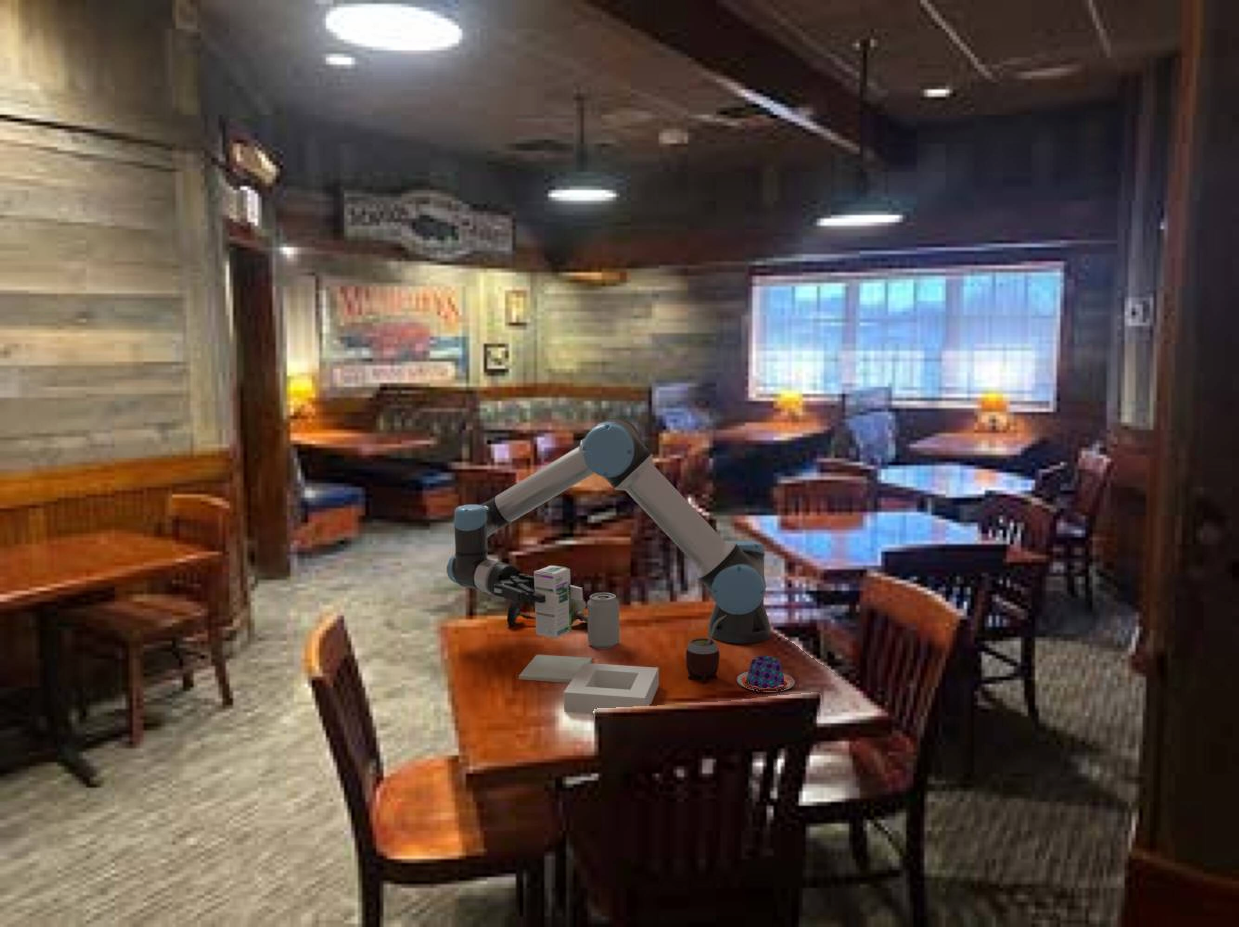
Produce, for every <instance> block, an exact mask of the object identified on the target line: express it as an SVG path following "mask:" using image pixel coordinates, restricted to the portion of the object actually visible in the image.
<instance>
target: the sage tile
mask: <svg viewBox="0 0 1239 927" xmlns="http://www.w3.org/2000/svg"><path fill="white" fill-rule="evenodd" d="M583 663H593V657H583V656H581V657H580V656H567V655H566V656H565V655H552V654H551V655H549V654H536V655H535V656H534V657H533V658H532V660H531V661H529V663H528V664H527V666H526V667H525V668H524V669H523V670H522V671H521V672H520V673H519V675H518V680H524V681H525V680H526V681H539V682H555V683H566V684H568V683H569V684H570V682H571V681H572V679H573V678H574V677H575V675H576V674H577V672H578V671H579V669H580V668H581V666H582V665H583Z"/></svg>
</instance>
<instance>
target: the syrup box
mask: <svg viewBox="0 0 1239 927" xmlns="http://www.w3.org/2000/svg"><path fill="white" fill-rule="evenodd" d="M533 576H534V588H535V590H542V591H545V592H549V593H553V594H556V595H559V608H553V607H550V606H546V605H543V604H539V603H536V602H535V601H534V608H535V609H534V611H535V612H534V614H535V616H534V617H536V619H535V635H537V636H540V637H544V638H548V639H549V638H550V639H554V640H558V639H559V638H560V637H563V636H565V635H568V634H570V633H572V631H573V630H572V626H573V624H572V625H571V589H570V585H571V569H570V567H569V568H568V567H566V566H559V565H548V566H546V567H543V568H541V569H538V570H535V571H533Z"/></svg>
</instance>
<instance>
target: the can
mask: <svg viewBox="0 0 1239 927" xmlns="http://www.w3.org/2000/svg"><path fill="white" fill-rule="evenodd" d="M586 607H587V608H586V610H587V616H588V623H587V642H588V644H590V646H592V647H593V648H595V649H611V648H615V646H616V645H618V643H620V601H619V600H618V599H617V596H616V594H614V593H611V592H595V593H593V594H591V595H589V600H588V601H587V602H586Z"/></svg>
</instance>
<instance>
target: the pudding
mask: <svg viewBox="0 0 1239 927" xmlns="http://www.w3.org/2000/svg"><path fill="white" fill-rule="evenodd" d="M747 675H748V676H747ZM746 676H747V679H746V681H747V682H749V684H750V685H752V686H757V687H759V688H767V687H770V688H774V687H778V686H779V685H784V684H785V683H784V676H786V677H789V678H790V679H791V685H790V686H789V687H788V688H786V689H784V690H781V691H780V692H782V691H785V690H789V689H791V688H793V687H794V685H795V683H796V682H795V679H794V678H793V677H792V676H791V675H789V674H787V673H784V672H783V668H782V664H781V661H780V659H778V658H777V657H774V656H767V655H762V656H756V657H753V659H752V660H751V661H750V665H749V669H748V671H745V672H743V673H741V674H739V675H738V676H737V678H736V681H737V683H738V684H739V685H740V686H741V687H744V688H746V689H749V690H752V691H755V690H754V689H755V688H754V689H750V688H747V687H745V686H744V685H743V682H742V680H741V679H742V678H743V677H746ZM749 684H748V685H749ZM756 691H757V692H759V691H758V690H756ZM763 692H766V693H772V692H773V693H776V692H777V691H763Z"/></svg>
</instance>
